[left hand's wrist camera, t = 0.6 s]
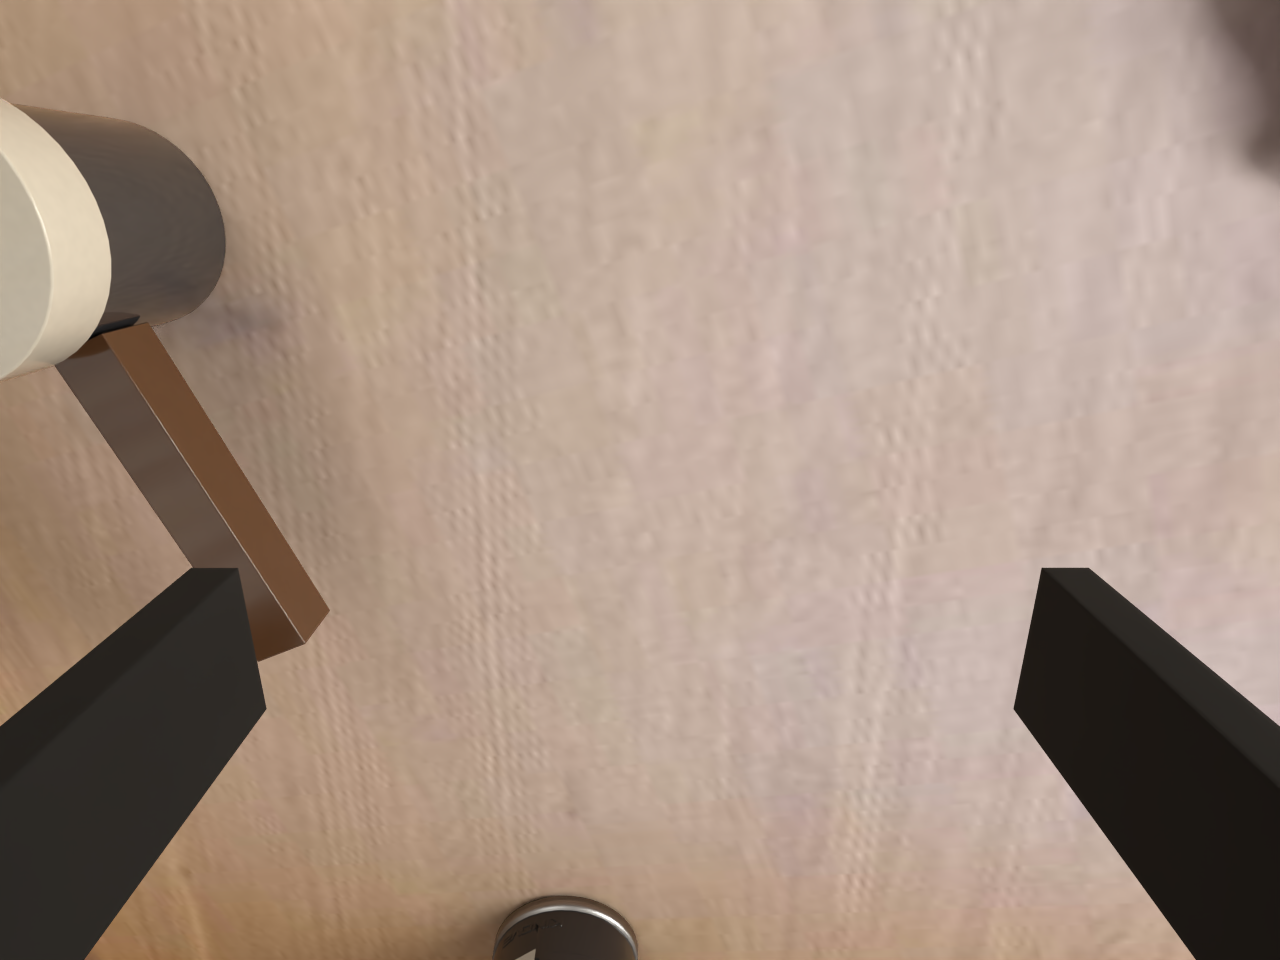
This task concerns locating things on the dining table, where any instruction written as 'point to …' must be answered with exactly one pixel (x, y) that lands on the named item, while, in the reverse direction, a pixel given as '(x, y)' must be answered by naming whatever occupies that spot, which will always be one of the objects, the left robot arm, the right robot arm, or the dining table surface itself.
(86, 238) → the lid
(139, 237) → the mallet
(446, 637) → the dining table surface
